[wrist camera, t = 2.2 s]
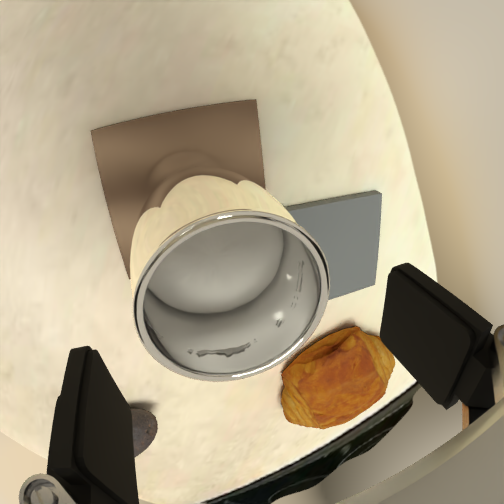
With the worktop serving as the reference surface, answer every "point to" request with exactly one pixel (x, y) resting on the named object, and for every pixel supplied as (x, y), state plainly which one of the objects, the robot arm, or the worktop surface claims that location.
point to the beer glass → (221, 273)
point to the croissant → (336, 379)
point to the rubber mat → (345, 237)
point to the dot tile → (169, 142)
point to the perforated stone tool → (143, 429)
